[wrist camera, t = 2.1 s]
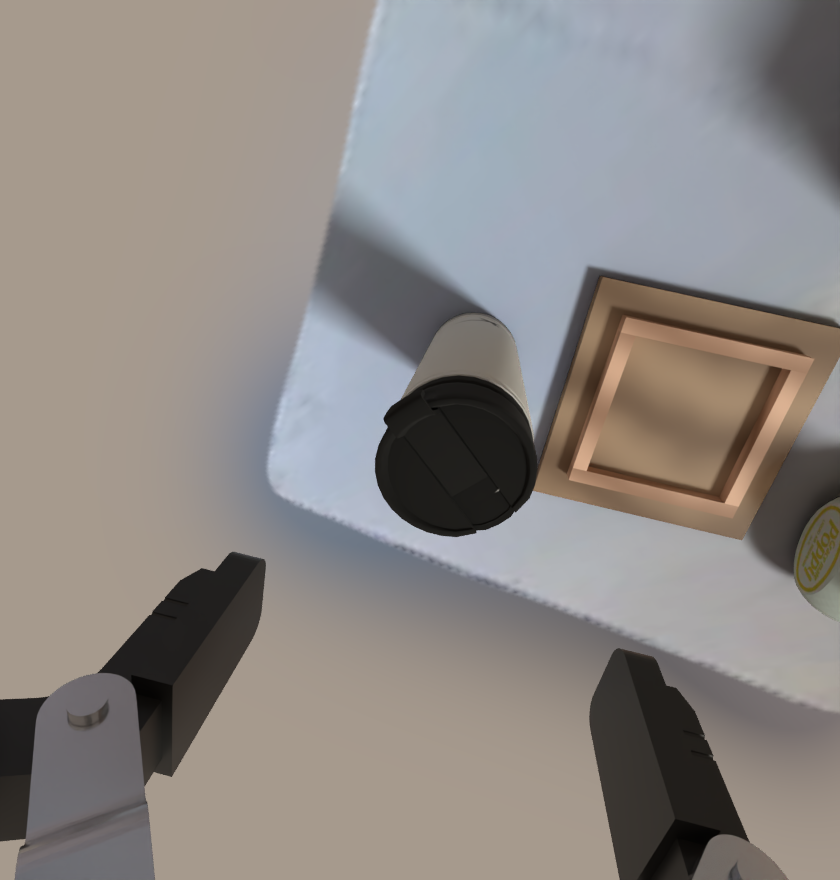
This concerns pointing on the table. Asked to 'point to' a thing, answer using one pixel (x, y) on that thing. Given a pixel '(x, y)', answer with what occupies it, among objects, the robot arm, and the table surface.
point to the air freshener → (820, 560)
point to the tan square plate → (682, 406)
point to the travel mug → (460, 433)
